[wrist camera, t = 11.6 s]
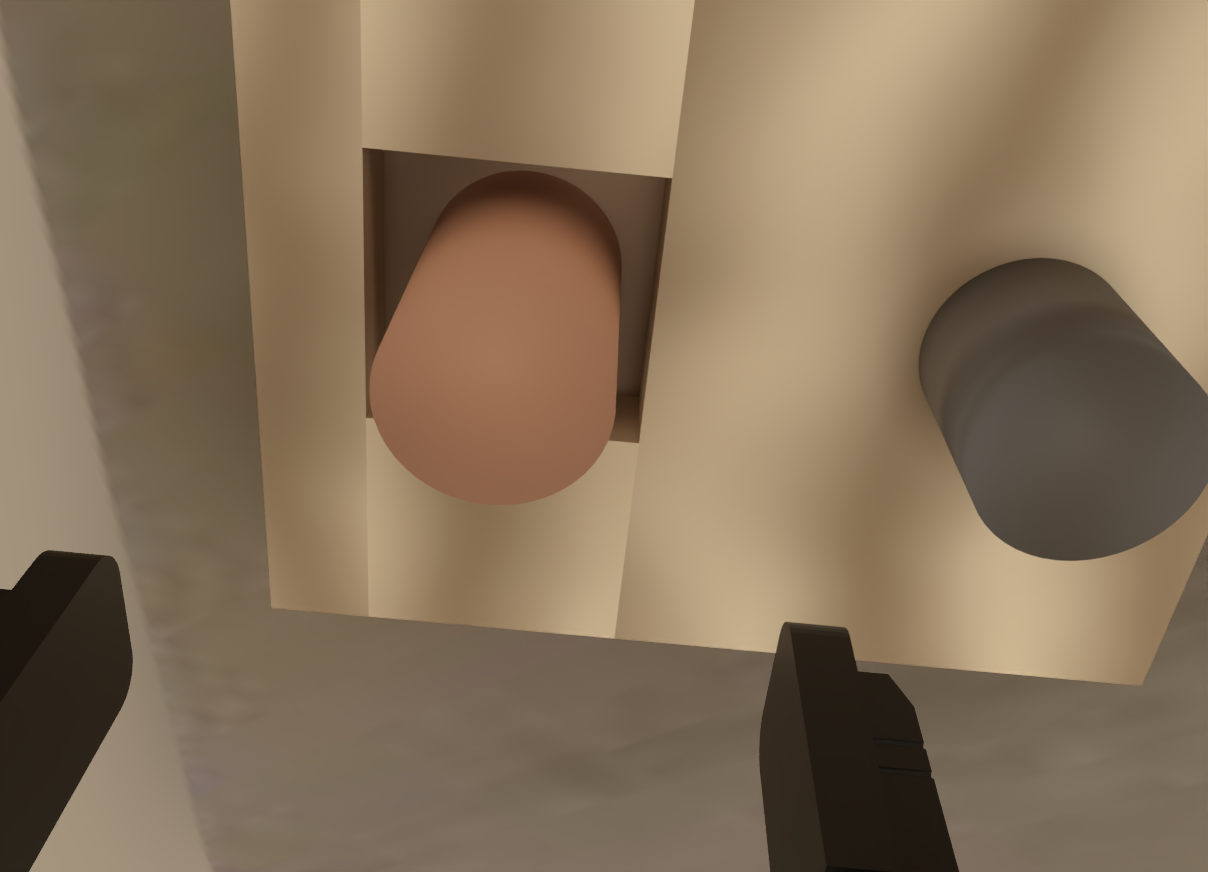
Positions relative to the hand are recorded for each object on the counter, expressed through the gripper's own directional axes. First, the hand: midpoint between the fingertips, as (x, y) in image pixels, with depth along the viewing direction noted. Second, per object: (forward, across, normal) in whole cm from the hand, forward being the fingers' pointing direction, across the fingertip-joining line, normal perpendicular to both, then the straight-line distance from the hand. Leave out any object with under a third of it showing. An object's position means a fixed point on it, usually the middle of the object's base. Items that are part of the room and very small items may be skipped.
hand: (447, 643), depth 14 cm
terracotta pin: (+12, 0, 0) cm, 12 cm away
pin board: (+13, -5, 0) cm, 14 cm away
